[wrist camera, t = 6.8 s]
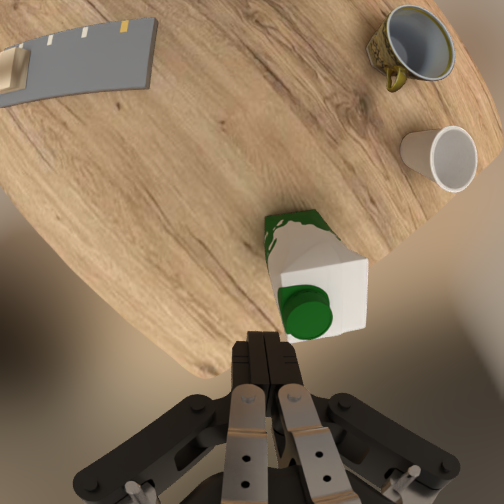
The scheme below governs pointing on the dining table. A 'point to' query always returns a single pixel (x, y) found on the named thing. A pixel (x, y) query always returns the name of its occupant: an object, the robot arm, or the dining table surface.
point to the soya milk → (314, 277)
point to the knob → (13, 69)
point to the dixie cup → (442, 156)
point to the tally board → (88, 61)
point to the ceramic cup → (411, 47)
